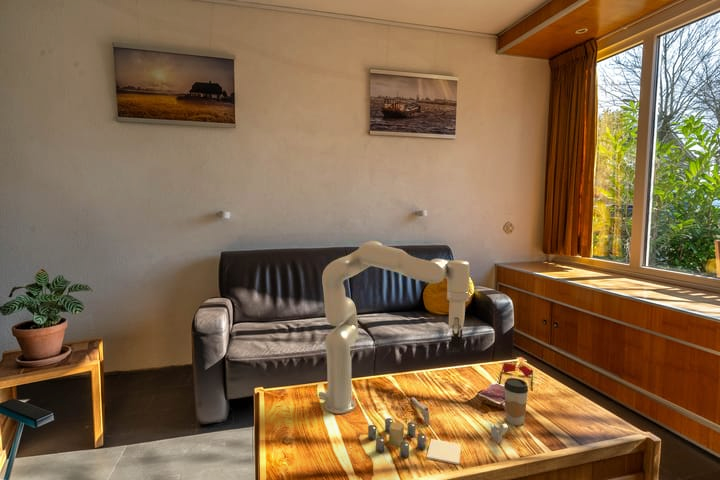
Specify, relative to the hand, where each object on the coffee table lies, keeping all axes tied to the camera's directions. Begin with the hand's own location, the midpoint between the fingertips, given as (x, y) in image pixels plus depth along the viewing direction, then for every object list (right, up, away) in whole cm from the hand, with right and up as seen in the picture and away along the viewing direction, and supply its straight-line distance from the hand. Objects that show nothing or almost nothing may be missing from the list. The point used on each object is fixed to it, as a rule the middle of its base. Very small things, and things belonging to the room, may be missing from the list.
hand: (456, 342), depth 141 cm
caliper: (-11, -31, +13) cm, 35 cm away
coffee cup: (+23, -31, +6) cm, 39 cm away
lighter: (+12, -32, -7) cm, 35 cm away
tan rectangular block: (-22, -32, -8) cm, 40 cm away
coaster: (-7, -32, -13) cm, 35 cm away
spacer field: (-22, -32, -8) cm, 40 cm away
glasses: (+37, -28, +40) cm, 62 cm away
